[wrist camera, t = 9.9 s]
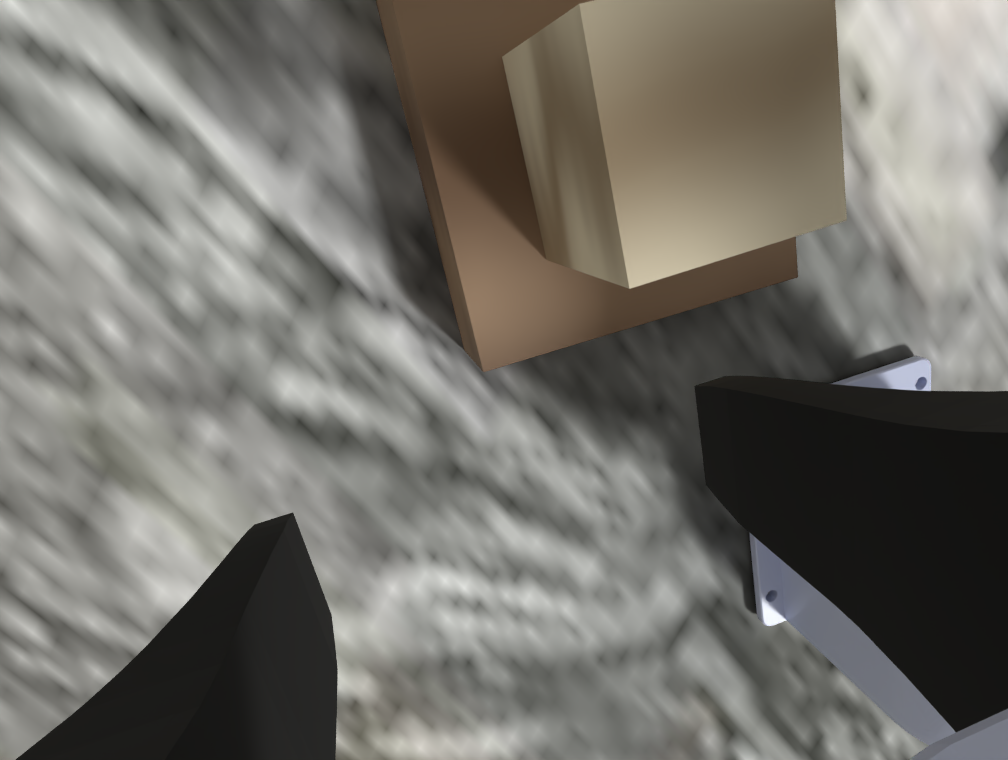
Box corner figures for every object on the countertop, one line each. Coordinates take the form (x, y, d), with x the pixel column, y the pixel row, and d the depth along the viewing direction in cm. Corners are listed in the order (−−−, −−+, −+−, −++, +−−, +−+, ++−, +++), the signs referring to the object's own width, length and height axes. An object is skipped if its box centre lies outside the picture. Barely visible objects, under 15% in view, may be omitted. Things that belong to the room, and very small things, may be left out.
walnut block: (738, 265, 22) (797, 277, 19) (461, 346, 20) (483, 372, 18) (707, -71, 19) (773, -114, 16) (370, -9, 17) (380, -46, 14)
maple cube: (712, 210, 18) (846, 220, 13) (546, 260, 17) (629, 289, 13) (687, 12, 16) (832, -55, 12) (502, 56, 15) (579, 4, 11)
